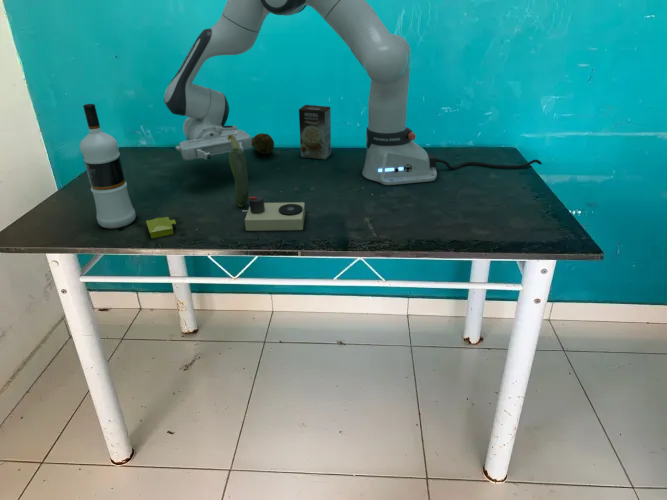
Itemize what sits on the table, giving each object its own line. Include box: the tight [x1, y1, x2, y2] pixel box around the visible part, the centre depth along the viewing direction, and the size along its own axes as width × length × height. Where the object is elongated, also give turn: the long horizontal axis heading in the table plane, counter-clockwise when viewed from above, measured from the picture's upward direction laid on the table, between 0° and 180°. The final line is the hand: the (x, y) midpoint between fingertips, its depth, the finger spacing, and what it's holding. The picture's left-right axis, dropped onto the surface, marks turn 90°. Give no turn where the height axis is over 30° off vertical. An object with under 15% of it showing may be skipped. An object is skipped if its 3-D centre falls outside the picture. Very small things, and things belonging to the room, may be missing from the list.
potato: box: [251, 132, 275, 155], centre depth 176 cm, size 8×13×8 cm, turn 1°
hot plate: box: [241, 201, 306, 232], centre depth 132 cm, size 15×10×3 cm, turn 89°
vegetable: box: [228, 135, 249, 208], centre depth 136 cm, size 4×4×20 cm
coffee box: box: [298, 104, 332, 160], centre depth 172 cm, size 9×6×16 cm
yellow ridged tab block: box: [144, 216, 182, 243], centre depth 129 cm, size 10×9×3 cm
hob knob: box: [248, 195, 265, 214], centre depth 130 cm, size 4×4×4 cm
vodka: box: [79, 103, 137, 230], centre depth 127 cm, size 9×9×30 cm
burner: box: [279, 204, 303, 216], centre depth 131 cm, size 6×6×1 cm
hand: (224, 153), depth 143 cm, fingers open, 8 cm apart
